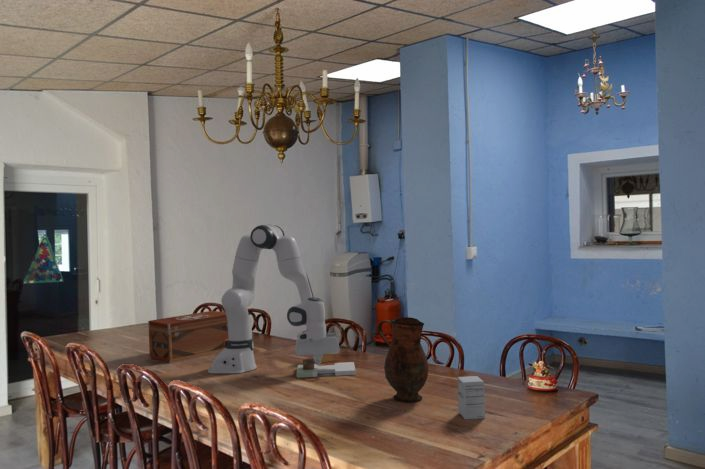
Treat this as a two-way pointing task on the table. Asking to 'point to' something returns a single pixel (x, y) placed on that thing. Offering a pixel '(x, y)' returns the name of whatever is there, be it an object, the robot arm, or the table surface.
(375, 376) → the table surface
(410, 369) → the pitcher
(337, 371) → the trap lane
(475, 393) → the supplement box
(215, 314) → the wooden box
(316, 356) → the small box
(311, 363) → the walnut block
